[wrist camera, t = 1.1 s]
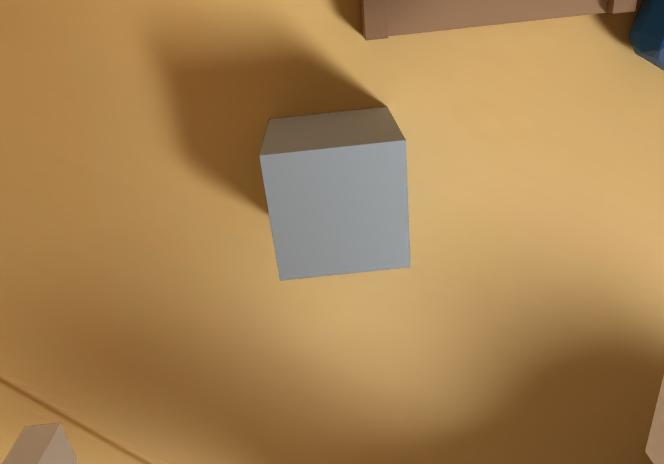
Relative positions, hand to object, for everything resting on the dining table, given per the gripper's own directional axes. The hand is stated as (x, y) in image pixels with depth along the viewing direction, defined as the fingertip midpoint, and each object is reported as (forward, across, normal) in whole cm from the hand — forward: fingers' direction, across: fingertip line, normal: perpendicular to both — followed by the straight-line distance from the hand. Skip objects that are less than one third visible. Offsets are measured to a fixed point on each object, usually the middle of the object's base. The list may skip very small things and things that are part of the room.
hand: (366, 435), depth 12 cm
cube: (+18, 0, 0) cm, 18 cm away
